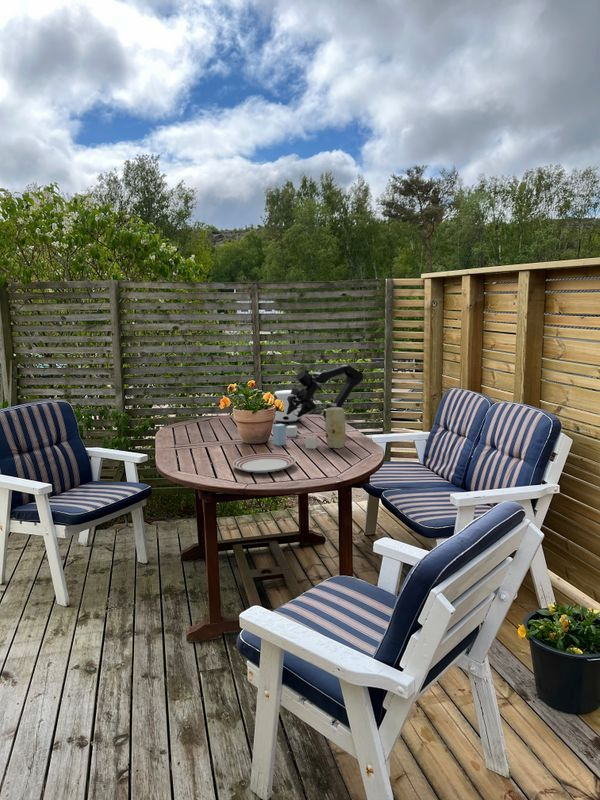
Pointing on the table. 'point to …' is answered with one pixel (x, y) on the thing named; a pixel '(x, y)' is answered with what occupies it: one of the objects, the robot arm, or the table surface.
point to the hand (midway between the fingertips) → (292, 415)
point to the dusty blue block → (279, 434)
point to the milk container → (286, 408)
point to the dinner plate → (264, 462)
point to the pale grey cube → (291, 431)
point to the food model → (335, 427)
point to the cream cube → (311, 441)
